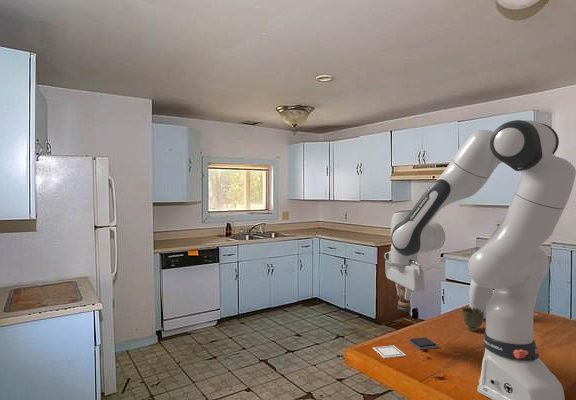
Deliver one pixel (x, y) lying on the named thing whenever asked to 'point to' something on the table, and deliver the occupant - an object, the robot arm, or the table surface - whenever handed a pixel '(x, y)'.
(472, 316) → the cup
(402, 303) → the stamp
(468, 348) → the table surface
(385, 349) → the white flat square plate
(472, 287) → the soap bottle
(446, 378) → the table surface
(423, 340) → the ink pad
